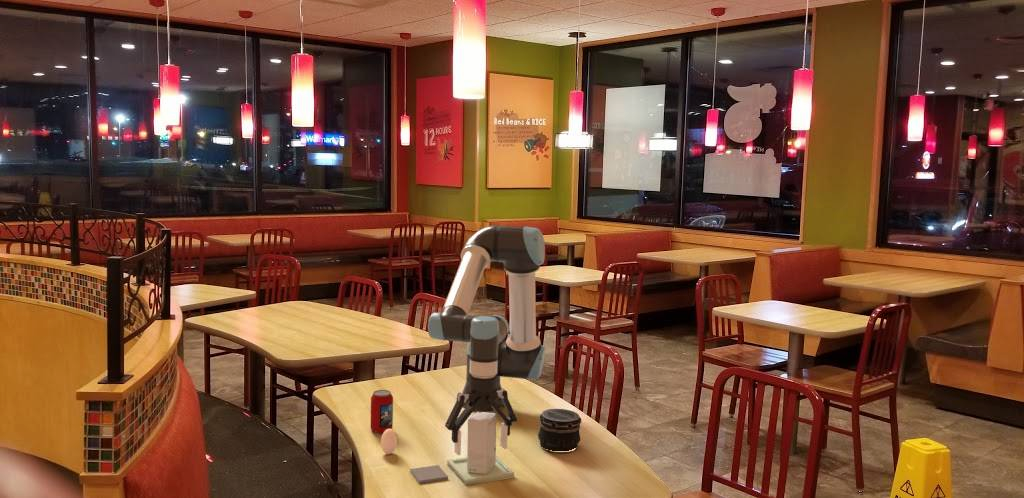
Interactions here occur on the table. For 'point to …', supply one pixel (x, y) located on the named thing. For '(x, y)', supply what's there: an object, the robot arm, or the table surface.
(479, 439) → the skincare box
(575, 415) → the container
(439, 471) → the pad
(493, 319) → the robot arm
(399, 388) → the table surface
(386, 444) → the egg
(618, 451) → the table surface
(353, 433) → the table surface
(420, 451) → the table surface
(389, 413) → the beverage can
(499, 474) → the tray
